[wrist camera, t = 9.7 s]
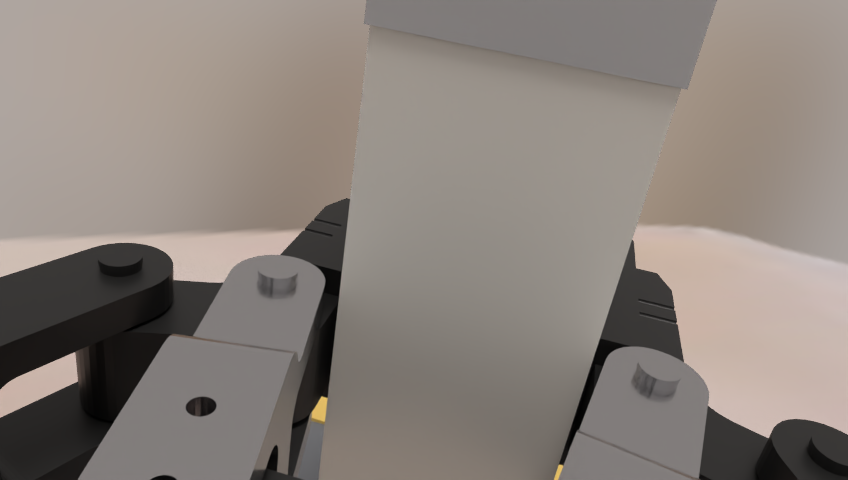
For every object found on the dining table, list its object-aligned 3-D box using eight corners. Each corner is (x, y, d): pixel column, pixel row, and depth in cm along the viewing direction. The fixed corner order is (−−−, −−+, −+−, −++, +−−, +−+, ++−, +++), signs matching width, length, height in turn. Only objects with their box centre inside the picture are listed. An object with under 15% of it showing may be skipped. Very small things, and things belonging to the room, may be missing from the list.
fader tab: (491, 772, 11) (805, -83, 6) (260, 691, 12) (327, -163, 6) (518, 566, 15) (726, -87, 9) (339, 512, 15) (428, -137, 10)
